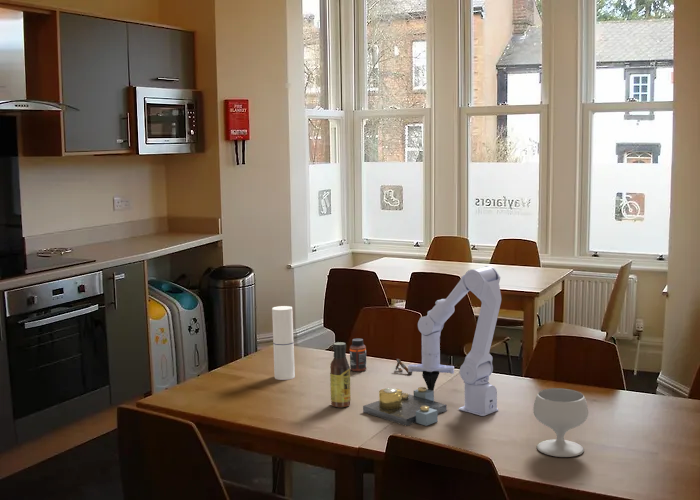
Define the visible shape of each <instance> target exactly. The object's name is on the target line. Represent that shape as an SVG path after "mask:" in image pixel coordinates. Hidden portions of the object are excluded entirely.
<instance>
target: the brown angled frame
mask: <svg viewBox="0 0 700 500" xmlns="http://www.w3.org/2000/svg"><path fill="white" fill-rule="evenodd" d="M396 363H397V364H396V366H395V368H394V369H395V370H396V371H398V372H399V373H403V370H405V372H406V373H407V375H408V376H409V375H412V374H413V371H412V372H408V366H407V365H406V364H404V363H403V362H402V361H401V359H399V358H396ZM399 366H400V367H399Z"/></svg>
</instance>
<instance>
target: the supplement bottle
mask: <svg viewBox="0 0 700 500" xmlns="http://www.w3.org/2000/svg"><path fill="white" fill-rule="evenodd" d="M351 343H352V344H351V345H349V362H350V363H349V367H350V371H352V372H359V373H360V372H364V371H366V370H367V346H366V345H365V344H364V339H363V338H353V339H352V340H351Z"/></svg>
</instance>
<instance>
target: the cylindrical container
mask: <svg viewBox="0 0 700 500" xmlns="http://www.w3.org/2000/svg"><path fill="white" fill-rule="evenodd" d="M293 315H294V314H293V306H291V305H290V306H289V305H278V306H273V307H272V308H271V317H272V341H273V344H272V346H273V365H274V366H273V370H274V371H273V372H274V379H275V380H279V381H287V380H292V379H294V378H295V377H296V375H295V371H296V370H295V348H294V346H295V345H294V343H295V342H294V319H293V318H294V316H293Z"/></svg>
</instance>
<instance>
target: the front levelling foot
mask: <svg viewBox="0 0 700 500" xmlns="http://www.w3.org/2000/svg"><path fill="white" fill-rule="evenodd" d="M413 396H417V397H421V398H424V399H428V400H431V401H435V391H432V390H428V388H427V387H425V386H420V387H418V388H417V389H414V390H413Z"/></svg>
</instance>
